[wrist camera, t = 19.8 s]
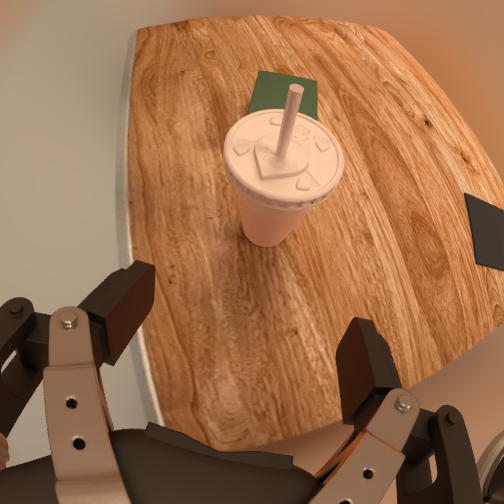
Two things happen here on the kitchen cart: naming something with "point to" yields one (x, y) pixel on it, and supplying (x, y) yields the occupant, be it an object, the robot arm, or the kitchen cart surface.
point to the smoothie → (280, 168)
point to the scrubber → (282, 93)
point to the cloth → (486, 232)
